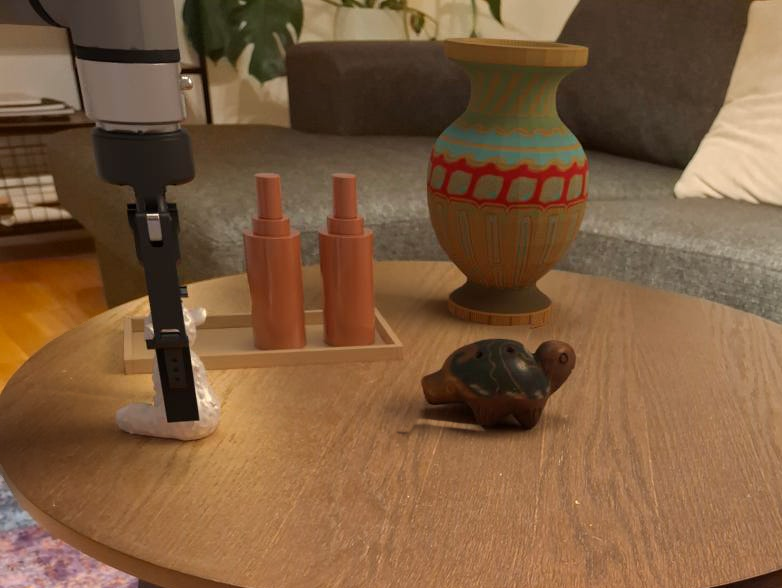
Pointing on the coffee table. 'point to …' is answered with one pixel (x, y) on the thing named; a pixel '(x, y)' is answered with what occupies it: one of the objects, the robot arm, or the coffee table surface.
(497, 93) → the vase
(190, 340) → the sitting furry creature
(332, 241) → the far bottle
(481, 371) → the decorative turtle
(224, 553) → the coffee table surface
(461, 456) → the coffee table surface
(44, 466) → the coffee table surface
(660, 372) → the coffee table surface
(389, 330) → the tray
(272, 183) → the near bottle
